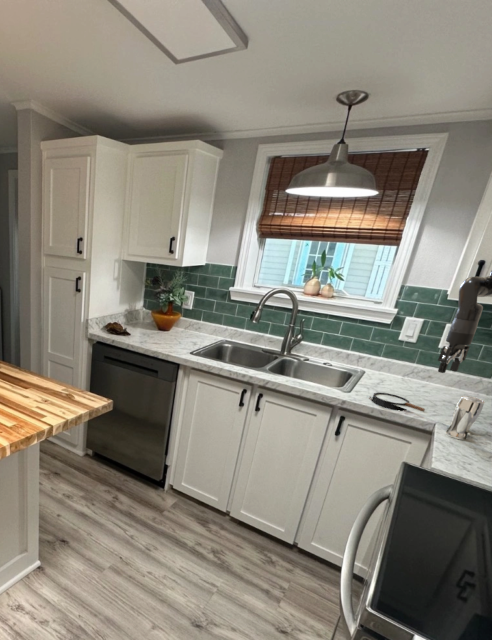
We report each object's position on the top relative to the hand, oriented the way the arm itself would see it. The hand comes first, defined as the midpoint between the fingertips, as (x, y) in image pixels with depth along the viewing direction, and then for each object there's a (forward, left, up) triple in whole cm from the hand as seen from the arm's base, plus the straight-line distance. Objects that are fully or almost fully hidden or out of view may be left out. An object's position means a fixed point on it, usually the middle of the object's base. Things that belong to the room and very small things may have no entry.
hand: (447, 371), depth 160 cm
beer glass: (-14, +10, -20) cm, 26 cm away
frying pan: (+11, +5, -20) cm, 23 cm away
